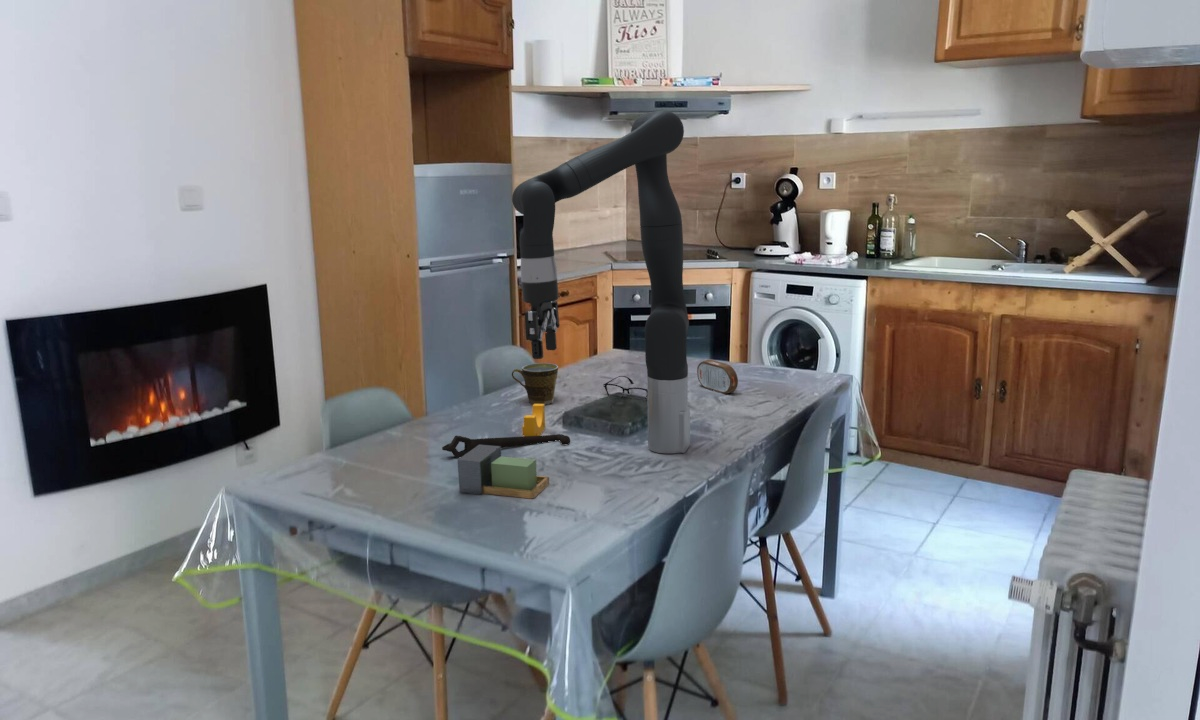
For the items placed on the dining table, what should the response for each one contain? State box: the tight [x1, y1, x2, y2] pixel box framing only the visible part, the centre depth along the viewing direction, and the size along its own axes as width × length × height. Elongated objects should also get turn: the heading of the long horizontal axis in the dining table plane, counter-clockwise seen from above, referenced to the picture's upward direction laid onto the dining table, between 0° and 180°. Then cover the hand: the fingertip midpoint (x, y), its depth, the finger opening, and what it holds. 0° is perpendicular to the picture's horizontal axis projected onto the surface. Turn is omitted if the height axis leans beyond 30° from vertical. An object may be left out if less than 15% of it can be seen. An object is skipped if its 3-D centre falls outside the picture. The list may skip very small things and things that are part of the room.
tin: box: [696, 358, 739, 395], centre depth 252 cm, size 15×3×8 cm, turn 34°
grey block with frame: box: [457, 444, 550, 500], centre depth 182 cm, size 16×10×7 cm, turn 72°
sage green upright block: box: [491, 455, 538, 490], centre depth 181 cm, size 8×4×6 cm, turn 71°
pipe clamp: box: [521, 404, 546, 436], centre depth 216 cm, size 12×4×6 cm, turn 172°
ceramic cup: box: [511, 362, 559, 406], centre depth 244 cm, size 13×10×10 cm
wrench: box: [441, 433, 571, 459], centre depth 205 cm, size 5×5×30 cm
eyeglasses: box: [603, 375, 647, 398], centre depth 253 cm, size 16×16×4 cm
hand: (544, 354), depth 188 cm, fingers open, 8 cm apart
